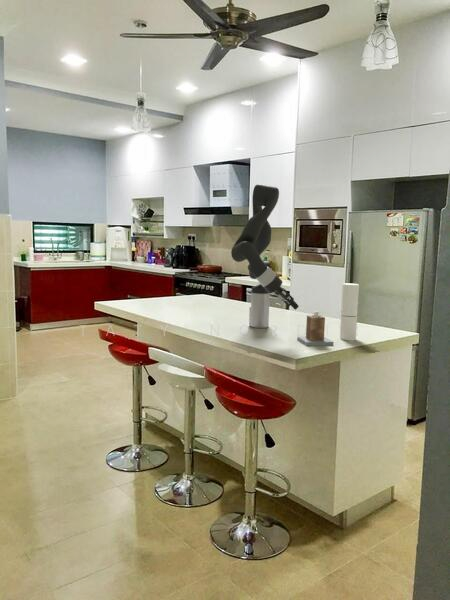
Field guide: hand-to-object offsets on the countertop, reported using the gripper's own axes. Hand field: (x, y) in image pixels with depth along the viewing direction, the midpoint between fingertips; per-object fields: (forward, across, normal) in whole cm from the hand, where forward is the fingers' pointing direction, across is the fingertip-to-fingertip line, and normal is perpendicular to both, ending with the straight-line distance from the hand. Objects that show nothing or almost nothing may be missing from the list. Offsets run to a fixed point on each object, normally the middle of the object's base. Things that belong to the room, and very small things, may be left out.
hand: (293, 306), depth 208 cm
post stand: (+19, 0, +4) cm, 19 cm away
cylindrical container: (+32, +6, -9) cm, 33 cm away
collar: (+17, 0, +3) cm, 18 cm away
